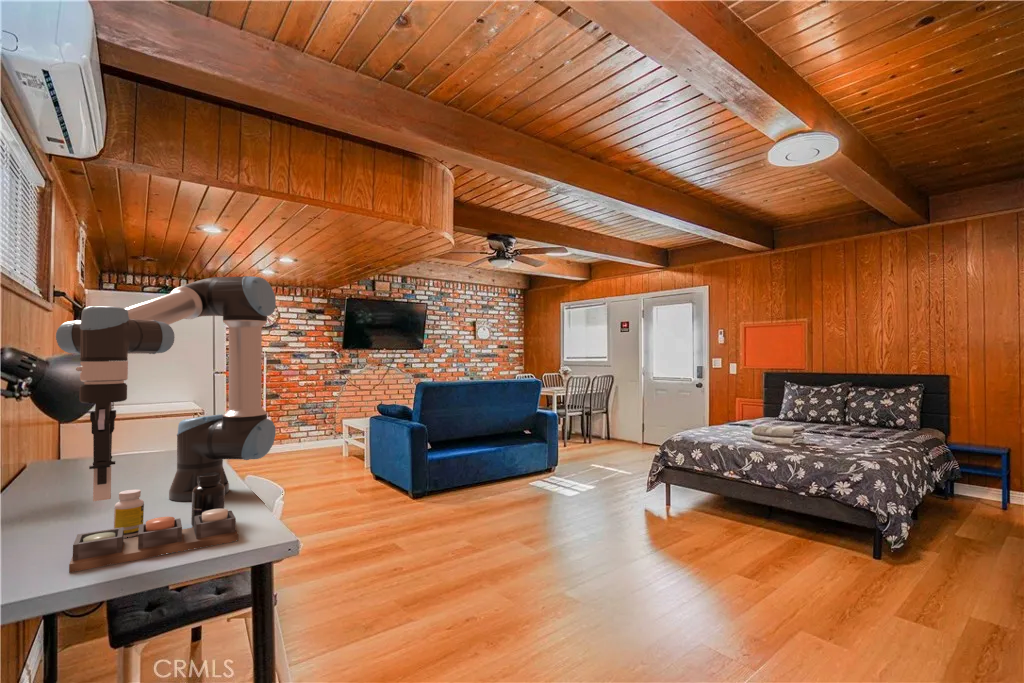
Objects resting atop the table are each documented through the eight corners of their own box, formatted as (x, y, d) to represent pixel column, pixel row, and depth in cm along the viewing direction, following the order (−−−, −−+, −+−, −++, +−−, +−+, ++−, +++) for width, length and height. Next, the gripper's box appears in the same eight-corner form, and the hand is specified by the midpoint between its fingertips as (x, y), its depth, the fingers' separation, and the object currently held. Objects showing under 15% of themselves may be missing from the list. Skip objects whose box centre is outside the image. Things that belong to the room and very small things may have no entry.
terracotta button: (173, 526, 110) (174, 515, 110) (174, 532, 106) (175, 520, 106) (145, 530, 107) (146, 519, 107) (145, 537, 103) (145, 525, 103)
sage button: (115, 542, 104) (116, 530, 104) (114, 549, 100) (114, 537, 100) (84, 547, 101) (84, 535, 101) (81, 555, 97) (81, 542, 97)
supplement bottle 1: (145, 534, 115) (147, 491, 115) (116, 540, 111) (117, 495, 111) (140, 529, 118) (141, 487, 119) (110, 535, 114) (112, 491, 115)
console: (231, 527, 119) (231, 508, 119) (238, 540, 110) (238, 520, 110) (76, 554, 103) (76, 532, 103) (68, 572, 94) (69, 548, 94)
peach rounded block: (226, 517, 116) (226, 507, 116) (228, 523, 112) (229, 512, 112) (200, 521, 113) (201, 511, 113) (202, 527, 109) (202, 516, 109)
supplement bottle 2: (186, 529, 118) (187, 478, 118) (196, 521, 124) (197, 472, 125) (219, 527, 119) (220, 476, 120) (227, 518, 126) (228, 470, 127)
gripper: (83, 381, 105) (81, 495, 104) (75, 384, 95) (73, 510, 94) (128, 380, 110) (126, 489, 109) (126, 383, 99) (124, 503, 98)
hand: (102, 499), depth 101 cm, fingers closed
